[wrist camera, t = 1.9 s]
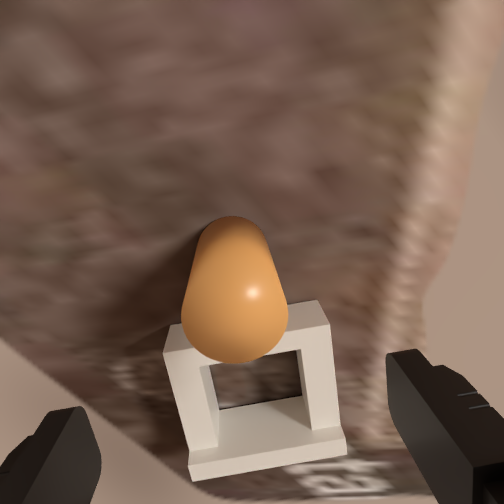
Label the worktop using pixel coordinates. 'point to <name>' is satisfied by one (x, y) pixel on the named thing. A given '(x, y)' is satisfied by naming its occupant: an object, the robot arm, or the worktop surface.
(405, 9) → the worktop surface
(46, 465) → the robot arm
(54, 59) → the worktop surface
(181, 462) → the worktop surface
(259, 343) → the orange capsule
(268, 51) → the worktop surface
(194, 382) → the housing
